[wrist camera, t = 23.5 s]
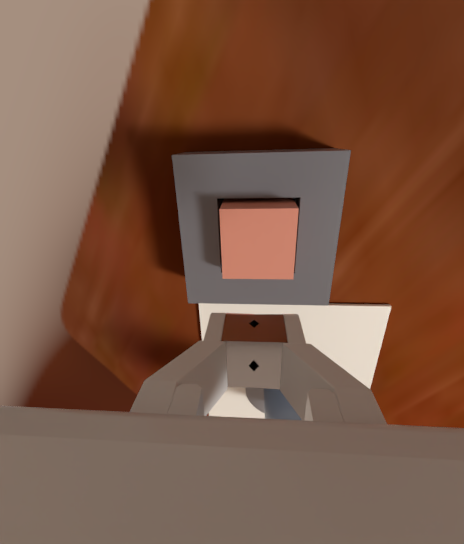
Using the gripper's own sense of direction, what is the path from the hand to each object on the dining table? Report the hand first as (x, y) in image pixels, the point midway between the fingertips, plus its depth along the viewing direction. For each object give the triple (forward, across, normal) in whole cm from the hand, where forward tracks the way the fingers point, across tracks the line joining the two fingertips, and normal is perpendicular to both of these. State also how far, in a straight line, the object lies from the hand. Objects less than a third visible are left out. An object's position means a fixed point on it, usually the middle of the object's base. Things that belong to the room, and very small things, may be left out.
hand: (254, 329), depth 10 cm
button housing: (+13, 0, -1) cm, 13 cm away
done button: (+11, 0, -1) cm, 11 cm away
